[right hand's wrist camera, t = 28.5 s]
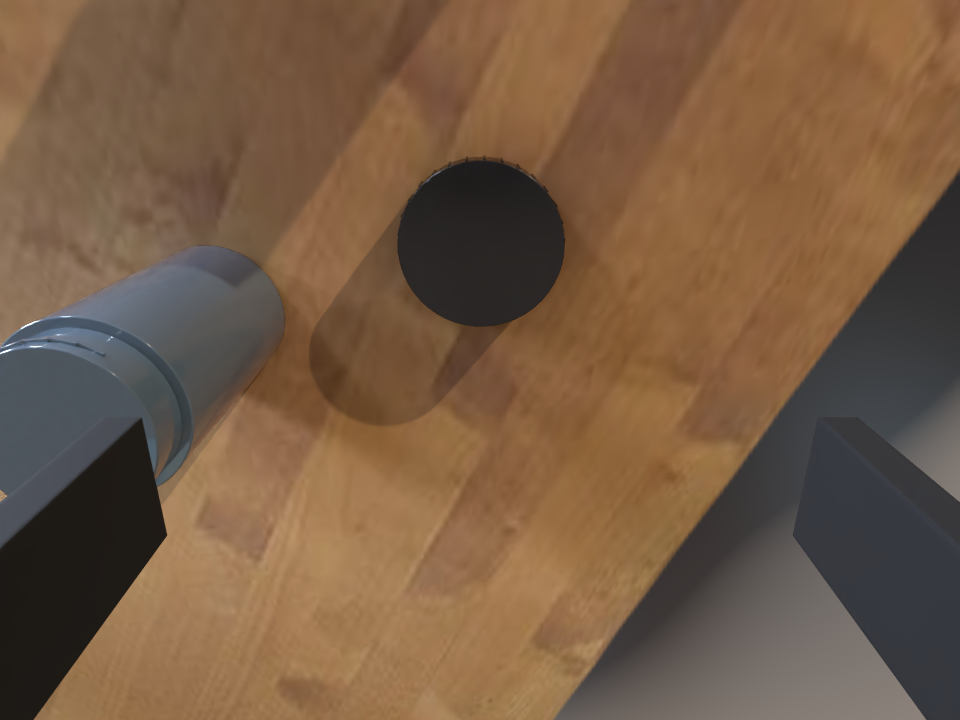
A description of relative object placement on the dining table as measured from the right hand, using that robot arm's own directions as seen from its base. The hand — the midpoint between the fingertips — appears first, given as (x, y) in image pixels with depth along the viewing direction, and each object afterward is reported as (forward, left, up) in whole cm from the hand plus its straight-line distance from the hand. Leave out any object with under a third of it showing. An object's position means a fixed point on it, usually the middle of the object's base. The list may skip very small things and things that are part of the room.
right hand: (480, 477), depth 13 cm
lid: (0, 0, -24) cm, 24 cm away
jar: (-8, -14, -26) cm, 30 cm away
